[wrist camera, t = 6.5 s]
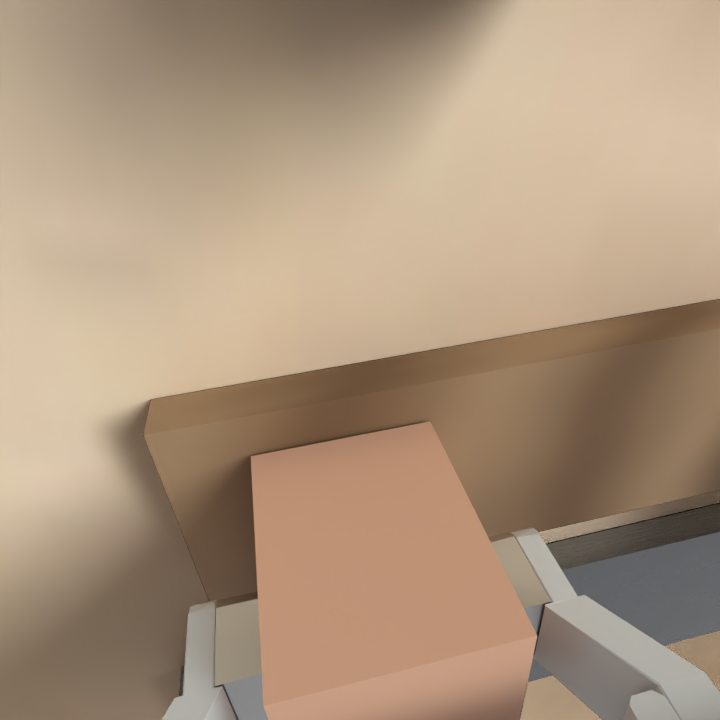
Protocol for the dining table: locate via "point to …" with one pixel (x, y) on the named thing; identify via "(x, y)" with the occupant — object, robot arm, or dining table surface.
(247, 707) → the robot arm
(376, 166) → the dining table surface
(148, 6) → the dining table surface
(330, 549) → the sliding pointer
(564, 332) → the rail
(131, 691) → the dining table surface
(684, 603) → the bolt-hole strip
